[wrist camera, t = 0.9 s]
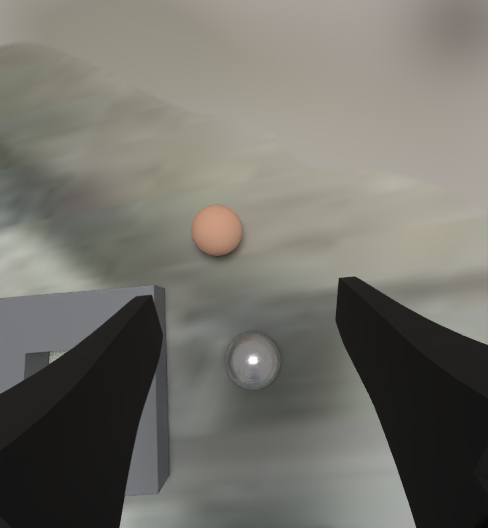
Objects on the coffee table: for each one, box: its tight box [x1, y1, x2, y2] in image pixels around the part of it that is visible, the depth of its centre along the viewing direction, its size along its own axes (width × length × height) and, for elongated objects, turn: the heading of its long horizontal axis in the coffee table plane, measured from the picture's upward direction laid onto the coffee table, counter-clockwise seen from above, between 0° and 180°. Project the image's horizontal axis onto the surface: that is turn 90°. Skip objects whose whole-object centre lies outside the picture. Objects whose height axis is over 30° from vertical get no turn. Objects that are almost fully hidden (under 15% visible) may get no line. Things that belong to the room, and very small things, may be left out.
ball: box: [192, 205, 242, 256], centre depth 23 cm, size 4×4×4 cm
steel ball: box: [225, 332, 281, 390], centre depth 21 cm, size 4×4×4 cm
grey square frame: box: [0, 285, 169, 496], centre depth 22 cm, size 14×14×2 cm
